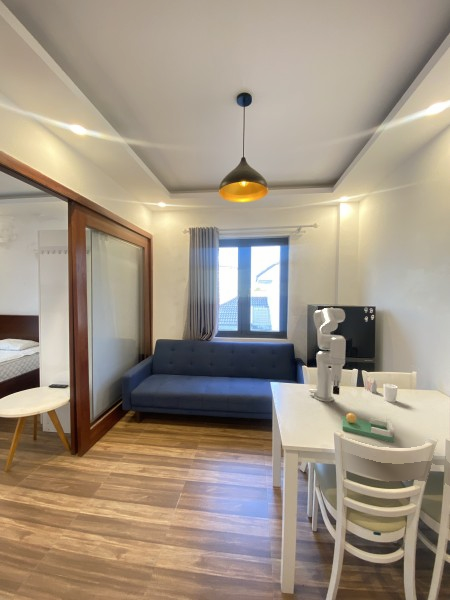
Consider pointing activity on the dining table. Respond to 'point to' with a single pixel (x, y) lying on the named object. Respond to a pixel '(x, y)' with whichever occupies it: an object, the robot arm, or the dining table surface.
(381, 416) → the dining table surface
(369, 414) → the dining table surface
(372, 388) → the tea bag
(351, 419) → the ball
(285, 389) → the dining table surface
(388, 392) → the white cup
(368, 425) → the green
